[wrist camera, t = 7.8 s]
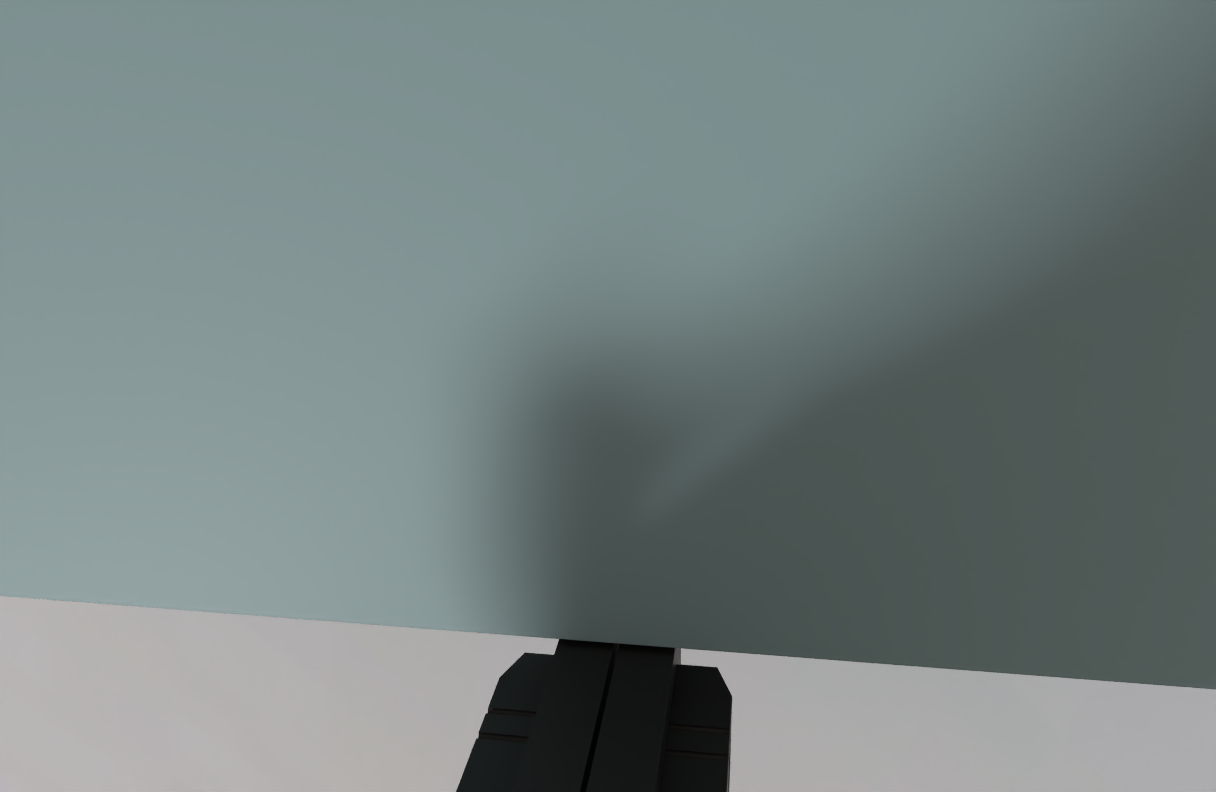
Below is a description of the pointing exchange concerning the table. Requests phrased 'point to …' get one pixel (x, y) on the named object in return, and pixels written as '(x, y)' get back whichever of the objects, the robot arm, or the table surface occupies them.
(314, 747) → the table surface
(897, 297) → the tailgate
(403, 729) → the table surface
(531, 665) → the robot arm
